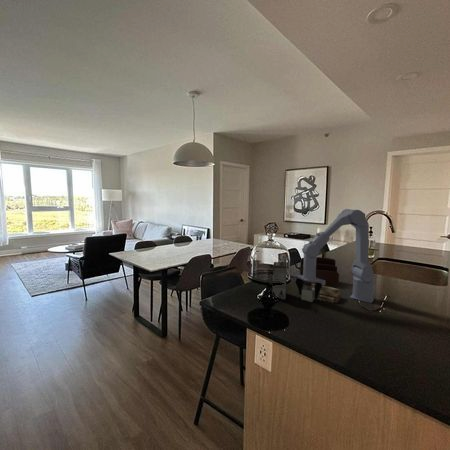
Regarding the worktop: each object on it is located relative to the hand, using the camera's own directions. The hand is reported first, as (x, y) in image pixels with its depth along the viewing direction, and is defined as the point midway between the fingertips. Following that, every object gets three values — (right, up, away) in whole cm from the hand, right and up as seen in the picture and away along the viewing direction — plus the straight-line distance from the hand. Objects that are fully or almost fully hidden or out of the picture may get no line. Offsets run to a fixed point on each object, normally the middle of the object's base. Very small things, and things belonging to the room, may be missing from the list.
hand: (308, 296), depth 122 cm
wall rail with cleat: (+8, -1, +3) cm, 9 cm away
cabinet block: (0, -2, 0) cm, 2 cm away
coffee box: (-13, -1, +5) cm, 14 cm away
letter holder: (+14, +1, +25) cm, 29 cm away
